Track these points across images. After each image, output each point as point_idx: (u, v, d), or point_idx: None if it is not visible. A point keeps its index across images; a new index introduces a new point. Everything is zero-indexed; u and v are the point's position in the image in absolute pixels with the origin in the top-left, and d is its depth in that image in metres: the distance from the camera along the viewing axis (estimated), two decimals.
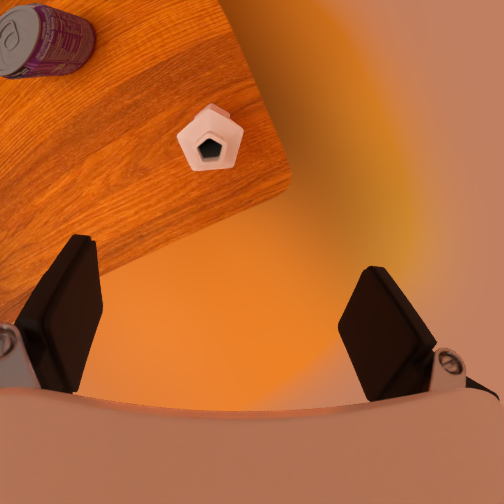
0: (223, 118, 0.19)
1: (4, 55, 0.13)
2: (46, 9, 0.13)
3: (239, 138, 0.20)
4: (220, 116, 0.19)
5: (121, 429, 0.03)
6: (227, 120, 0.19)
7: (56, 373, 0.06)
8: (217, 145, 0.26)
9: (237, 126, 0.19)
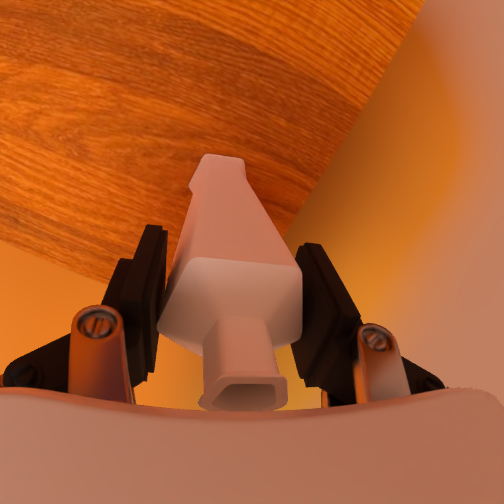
0: (299, 304, 0.09)
1: None
2: None
3: (281, 346, 0.10)
4: (299, 298, 0.09)
5: (121, 428, 0.03)
6: (299, 311, 0.09)
7: (143, 353, 0.07)
8: None
9: (299, 329, 0.09)
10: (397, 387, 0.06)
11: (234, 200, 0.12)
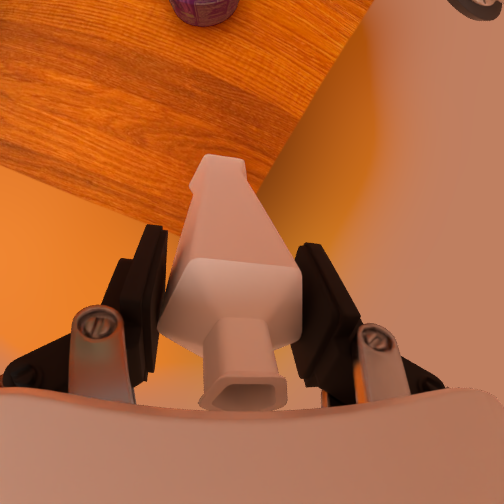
0: (299, 305, 0.09)
1: None
2: None
3: (281, 347, 0.10)
4: (299, 298, 0.09)
5: (121, 429, 0.03)
6: (299, 312, 0.09)
7: (143, 353, 0.07)
8: None
9: (299, 330, 0.09)
10: (397, 387, 0.06)
11: (234, 200, 0.12)
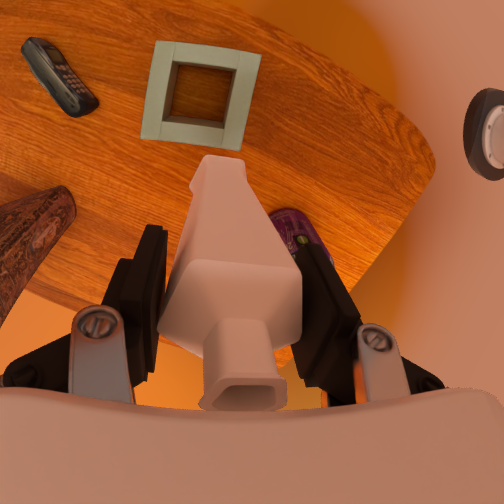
0: (299, 306, 0.09)
1: None
2: None
3: (281, 347, 0.10)
4: (299, 300, 0.09)
5: (121, 429, 0.03)
6: (299, 313, 0.09)
7: (143, 353, 0.07)
8: None
9: (299, 331, 0.09)
10: (397, 387, 0.06)
11: (235, 201, 0.12)
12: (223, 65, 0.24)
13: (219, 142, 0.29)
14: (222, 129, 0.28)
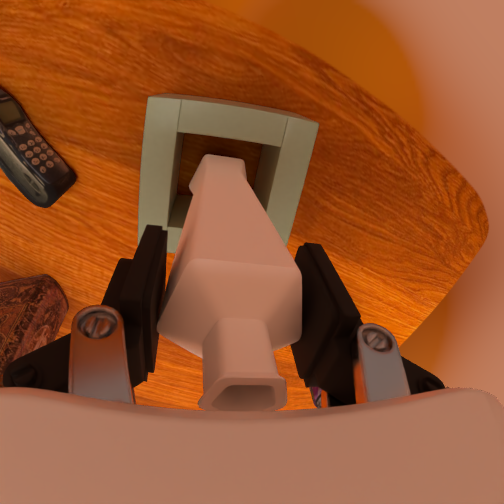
0: (298, 306, 0.09)
1: None
2: None
3: (281, 347, 0.10)
4: (299, 299, 0.09)
5: (121, 429, 0.03)
6: (299, 313, 0.09)
7: (143, 353, 0.07)
8: None
9: (299, 331, 0.09)
10: (397, 387, 0.06)
11: (234, 201, 0.12)
12: (260, 140, 0.17)
13: None
14: None
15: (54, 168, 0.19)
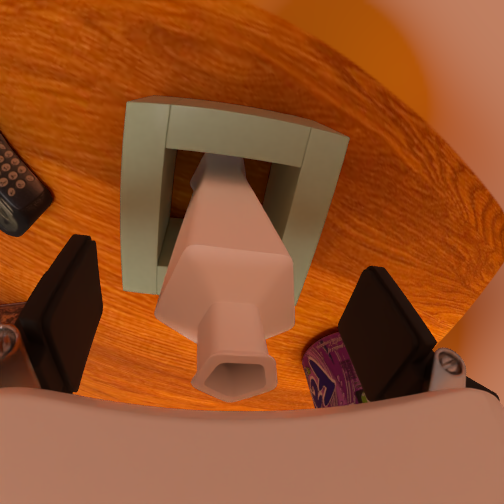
0: (291, 292, 0.09)
1: None
2: None
3: (274, 334, 0.10)
4: (291, 286, 0.09)
5: (121, 429, 0.03)
6: (291, 300, 0.09)
7: (56, 373, 0.06)
8: None
9: (292, 318, 0.10)
10: None
11: (232, 195, 0.12)
12: (274, 159, 0.13)
13: None
14: None
15: (25, 189, 0.15)
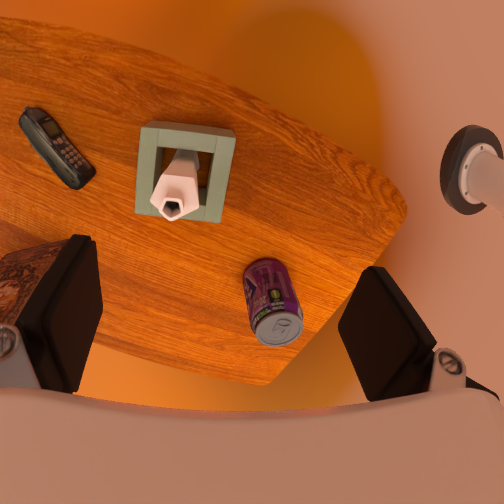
0: (195, 191, 0.26)
1: (268, 330, 0.38)
2: None
3: (191, 210, 0.27)
4: (195, 189, 0.26)
5: (121, 429, 0.03)
6: (196, 194, 0.27)
7: (56, 373, 0.06)
8: None
9: (197, 203, 0.27)
10: None
11: (182, 164, 0.30)
12: (202, 150, 0.31)
13: (202, 217, 0.35)
14: (204, 205, 0.34)
15: (82, 165, 0.33)
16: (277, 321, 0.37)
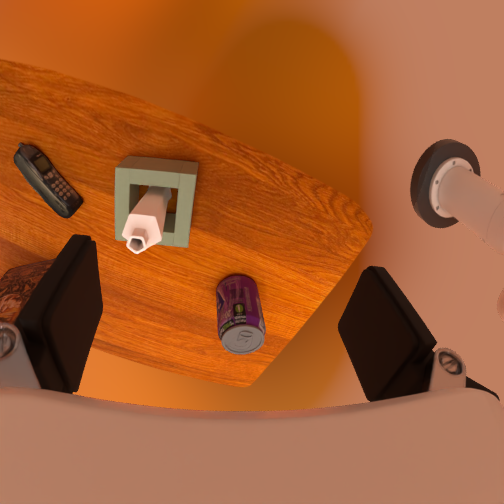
0: (157, 227, 0.31)
1: (233, 340, 0.43)
2: None
3: (156, 242, 0.32)
4: (157, 225, 0.31)
5: (122, 429, 0.03)
6: (158, 230, 0.32)
7: (56, 373, 0.06)
8: None
9: (160, 236, 0.32)
10: None
11: (151, 200, 0.35)
12: (167, 186, 0.35)
13: (171, 242, 0.40)
14: (173, 233, 0.39)
15: (71, 196, 0.38)
16: (240, 332, 0.42)
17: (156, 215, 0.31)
